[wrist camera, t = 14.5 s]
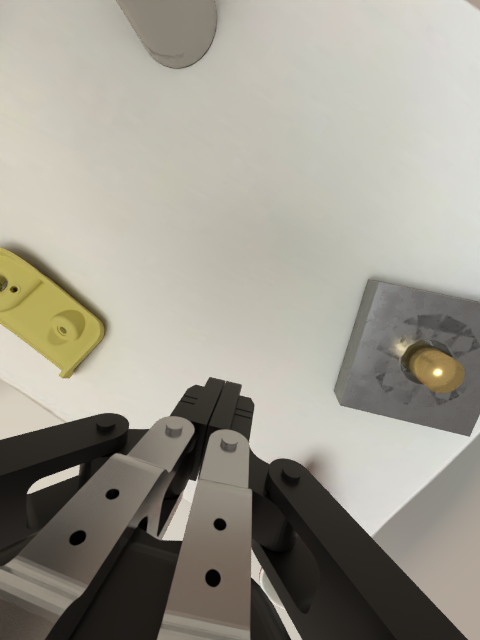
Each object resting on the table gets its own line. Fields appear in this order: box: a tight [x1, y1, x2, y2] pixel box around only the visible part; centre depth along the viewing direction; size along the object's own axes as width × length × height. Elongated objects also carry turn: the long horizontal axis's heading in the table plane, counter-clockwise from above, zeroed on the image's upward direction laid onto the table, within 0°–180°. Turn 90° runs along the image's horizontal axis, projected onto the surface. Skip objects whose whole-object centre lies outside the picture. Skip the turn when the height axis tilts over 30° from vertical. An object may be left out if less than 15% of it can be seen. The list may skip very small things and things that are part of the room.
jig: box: [334, 279, 480, 437], centre depth 36 cm, size 16×16×4 cm
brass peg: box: [401, 340, 465, 393], centre depth 34 cm, size 4×4×8 cm
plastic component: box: [0, 248, 104, 378], centre depth 42 cm, size 20×7×10 cm
